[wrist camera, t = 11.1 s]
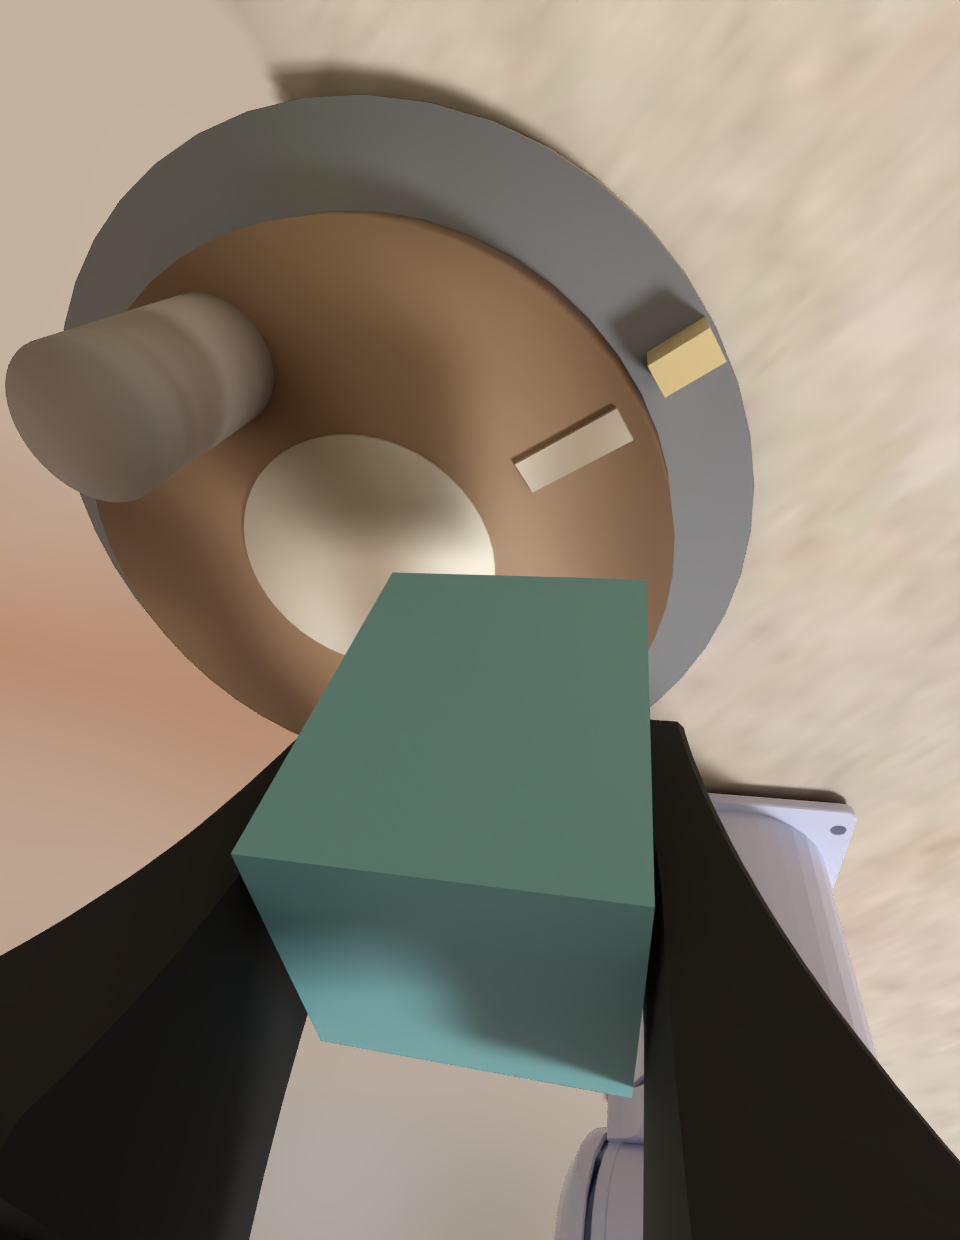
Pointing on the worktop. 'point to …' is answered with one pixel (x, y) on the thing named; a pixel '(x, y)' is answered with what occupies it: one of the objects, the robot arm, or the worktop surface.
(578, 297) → the turntable base
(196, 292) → the turntable
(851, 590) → the worktop surface
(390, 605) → the link block
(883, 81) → the worktop surface
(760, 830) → the robot arm
